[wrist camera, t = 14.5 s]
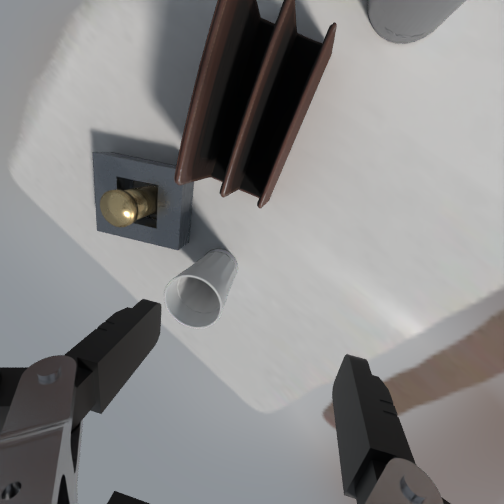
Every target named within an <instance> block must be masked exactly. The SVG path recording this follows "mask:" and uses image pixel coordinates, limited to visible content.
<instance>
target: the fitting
mask: <svg viewBox="0 0 504 504" xmlns="http://www.w3.org/2000/svg"><path fill="white" fill-rule="evenodd" d="M157 205H158V188H157V187H155V186H152V185H148V186H143V187H138V188H133V189H127V190H122V189H115V190H109V191H107V192H105V193H104V194H103V195H102V197H101V200H100V209H101V212H102V215H103V216H104V218H105V219H106V220H107V221H108V222H109V223H110V224H112V225H113V226H116V227H126V226H129V225H131V224H133V223H134V222H135V221H136V220H138V219H140V218H143V217H146V216H148V215H151V214H153V213H156V212H157Z"/></svg>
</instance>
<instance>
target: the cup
mask: <svg viewBox="0 0 504 504" xmlns="http://www.w3.org/2000/svg"><path fill="white" fill-rule="evenodd" d="M237 272H238V264H237V261H236V259H235V257H234V256H233V255H232V254H231V253H229V252H228V251H226V250H223V249H214V250H211V251H209V252H208V253H207V254H206V255H205V256H204V257H203V258H201V259H200V260H199V261H197V262H196V263H195V264H193V265H192V266H191V267H189V268H188V269H186V270H185V271H183V272H182V273H180V274H179V275H178V276H176V277H175V278H173V279H172V280H171V281H170V282H169V283H168V284H167V286H166V288H165V291H164V302H165V306H166V308H167V310H168V312H169V313H170V315H171V316H172V317H173V318H174V319H175V320H176V321H178V322H179V323H181V324H182V325H184V326H187V327H190V328H195V329H203V328H207V327H210V326H212V325H213V324H215V323H216V322H217V321H218V319H219V318H220V316H221V313H222V310H223V308H224V305H225V302H226V299H227V296H228V293H229V290H230V288H231V285H232V283H233V280H234V278H235V276H236V275H237Z"/></svg>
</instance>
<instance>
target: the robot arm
mask: <svg viewBox="0 0 504 504" xmlns="http://www.w3.org/2000/svg"><path fill="white" fill-rule="evenodd" d="M465 1H466V0H368V14H369V18H370V21H371V24H372V26H373V27H374V29H375V31H376V32H377V33H378V34H379V35H380V36H381V37H382V38H384V39H386V40H387V41H390V42H393V43H410V42H415V41H417V40H419V39H422V38H424V37H426V36H427V35H428V34H430V33H431V32H433V31H434V30H435V29H436V28H437V27H438V26H439V25H440V24H442V23H443V22H444V21H445V20H446V19H447V18H448V17H449V16H450V15H451V14H452V13H453V12H454V11H455V10H456V9H458V8H459V7H460V6H461V5H462V4H463V3H464V2H465ZM160 326H161V304H160V303H157V302H153V301H149V300H145V299H142V300H141V301H140V302H138V303H137V304H136V305H135V306H134V307H133V308H128V307H127V308H125V309H123V310H120V311H118V312H116V313H114V314H113V315H112V316H111V317H110V318H108V319H107V320H106V322H104V323H102V324H101V325H100V326H99V327H98V328H97V329H95V330H94V331H93V332H91V333H90V334H89V335H88V336H87V337H85V338H84V339H83V340H82V341H81V342H80V343H78V344H77V345H76V346H75V347H73V348H72V349H71V350H70V351H69V352H67V353H66V354H65V355H58V356H51V357H48V358H44V359H42V360H40V361H38V362H36V363H34V364H32V365H31V366H30V367H28V368H0V504H77V481H78V469H79V457H80V447H81V437H82V427H83V426H82V425H83V418H84V417H85V416H86V415H87V413H88V412H89V411H90V410H91V411H94V412H97V413H100V414H101V413H102V412H103V411H104V410H105V408H106V407H107V406H108V405H109V403H110V402H111V401H112V400H113V398H114V397H115V396H116V394H117V393H118V392H119V391H120V389H121V388H122V387H123V385H124V384H125V383H126V382H127V380H128V379H129V378H130V377H131V375H132V374H133V373H134V371H135V370H136V369H137V368H138V366H139V365H140V364H141V363H142V361H143V360H144V359H145V357H146V356H147V355H148V354H149V352H150V351H151V350H152V349H153V347H154V346H155V344H156V343H157V341H158V338H159V335H160ZM332 398H333V406H334V415H335V423H336V431H337V440H338V448H339V456H340V464H341V473H342V481H343V489H344V495H346V496H349V497H352V498H355V499H356V500H357V504H450V503H449V502H447V501H446V500H444V499H443V498H442V497H441V495H440V493H439V491H438V489H437V487H436V486H435V484H434V483H433V481H432V480H431V479H430V477H428V475H427V474H426V473H425V472H424V471H423V470H422V469H421V468H419V467H418V466H417V465H416V464H415V461H414V458H413V456H412V453H411V450H410V448H409V445H408V442H407V439H406V437H405V434H404V431H403V428H402V425H401V423H400V420H399V417H397V412H396V409H395V406H393V401H392V398H391V395H390V393H389V390H388V388H387V387H386V386H385V384H384V383H383V382H382V380H381V379H380V378H379V377H377V376H374V375H372V374H371V371H370V368H369V364H368V361H367V360H366V359H363V358H359V357H355V356H351V355H348V354H347V355H345V357H344V359H343V361H342V364H341V366H340V369H339V371H338V374H337V376H336V379H335V381H334V385H333V392H332ZM107 504H149V503H147V502H144V501H141V500H138V499H136V498H133V497H130V496H127V495H124V494H122V493H119V492H116V491H114V493H113V494H112V496H111V498H110V500H109V502H108V503H107Z"/></svg>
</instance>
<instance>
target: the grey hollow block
mask: <svg viewBox="0 0 504 504" xmlns="http://www.w3.org/2000/svg"><path fill="white" fill-rule="evenodd" d="M93 168H94V186H95V203H96V221H97V231H101V232H105V233H109V234H113V235H117V236H121V237H126V238H130V239H134V240H138V241H142V242H146V243H150V244H154V245H159V246H163V247H167V248H171V249H175V250H179V249H180V248H182V247H183V246H184V245H186V244H187V243H188V242H189V233H190V221H191V210H192V198H193V187H194V181H193V182H190V183H187V184H184V185H178V184H176V183H175V180H174V176H175V170H176V166H175V165H170V164H165V163H160V162H156V161H151V160H146V159H141V158H136V157H131V156H126V155H121V154H116V153H109V152H93ZM133 180H136V181H141V182H145V183H150V184H155V185H158V205H157V220H156V219H152V218H148V217H143V218H140V219H138V220H136V221H135V222H134V223H133V224H131V225H129V226H126V227H116V226H113V225H112V224H110V223H109V222H108V221H107V220H106V219H105V218H104V216H103V215H102V212H101V209H100V200H101V197H102V195H103V194H104V193H105V192H107V191H109V190H115V189H122V190H127V189H133Z"/></svg>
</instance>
